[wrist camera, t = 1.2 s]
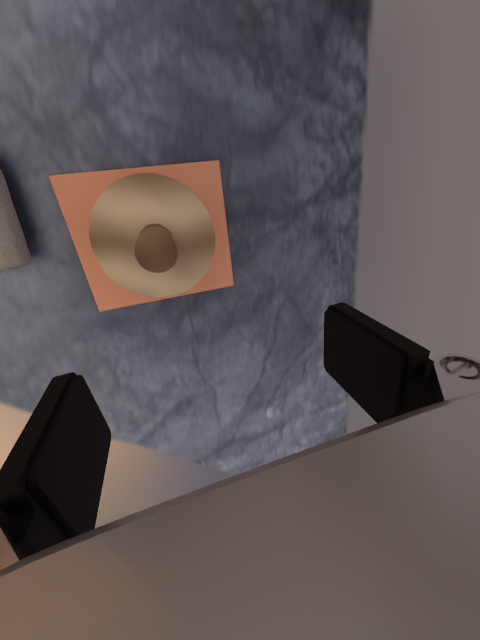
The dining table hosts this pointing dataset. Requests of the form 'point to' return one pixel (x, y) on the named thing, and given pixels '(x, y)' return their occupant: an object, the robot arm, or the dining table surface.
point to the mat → (86, 187)
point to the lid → (152, 235)
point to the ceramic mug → (10, 233)
